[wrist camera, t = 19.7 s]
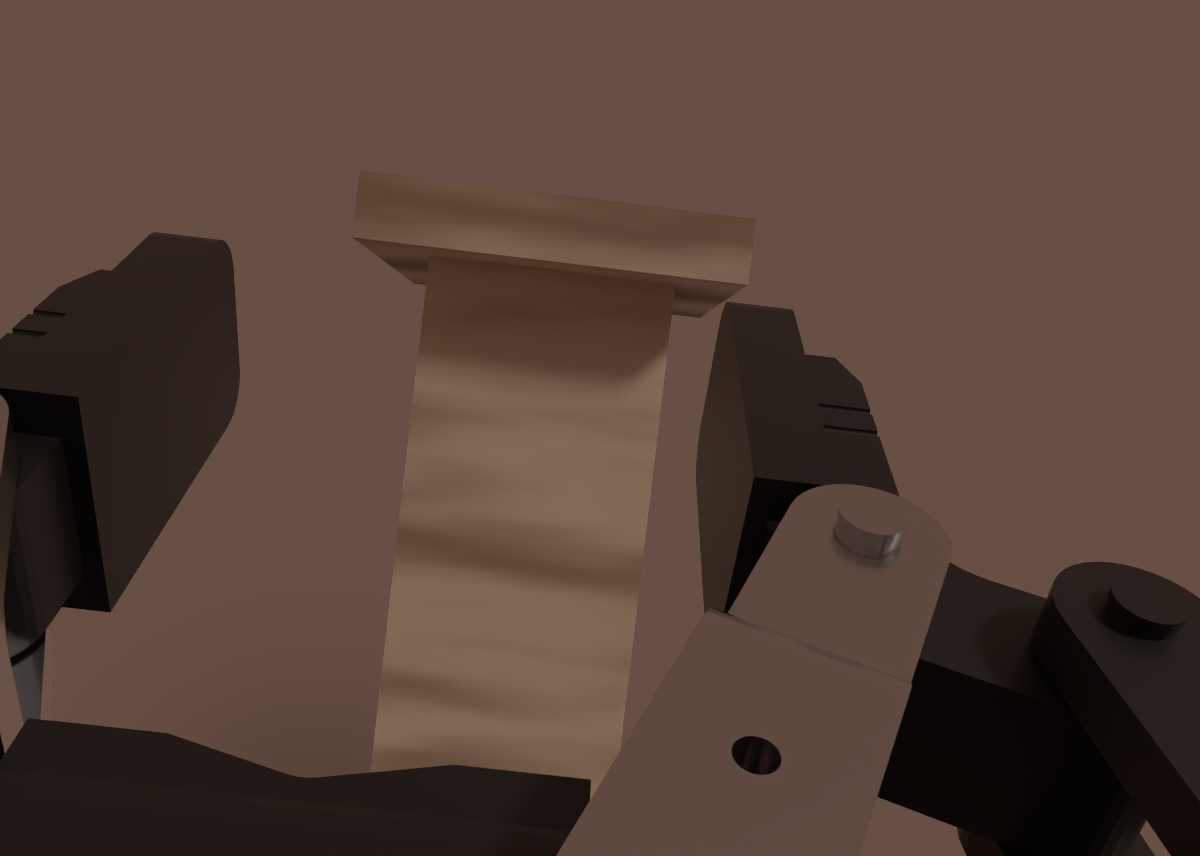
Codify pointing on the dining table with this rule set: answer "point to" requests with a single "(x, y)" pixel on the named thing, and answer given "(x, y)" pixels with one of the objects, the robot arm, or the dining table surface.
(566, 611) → the stand
